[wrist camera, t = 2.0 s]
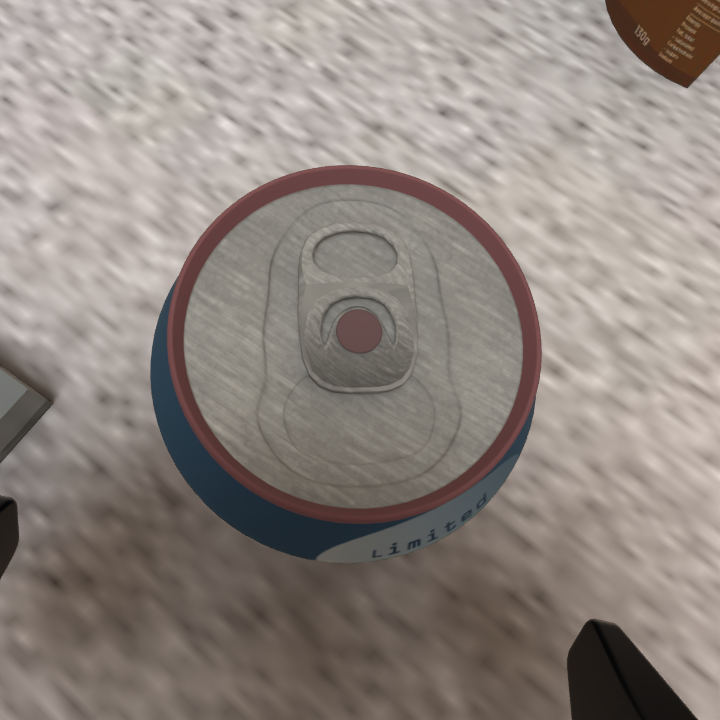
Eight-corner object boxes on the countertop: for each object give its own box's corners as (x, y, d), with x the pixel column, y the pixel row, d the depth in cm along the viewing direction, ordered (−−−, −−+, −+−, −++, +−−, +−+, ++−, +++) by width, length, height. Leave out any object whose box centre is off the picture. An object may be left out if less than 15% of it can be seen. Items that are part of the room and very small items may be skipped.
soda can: (428, 546, 20) (613, 556, 9) (214, 556, 19) (105, 583, 8) (414, 346, 22) (550, 137, 11) (219, 347, 21) (136, 123, 10)
